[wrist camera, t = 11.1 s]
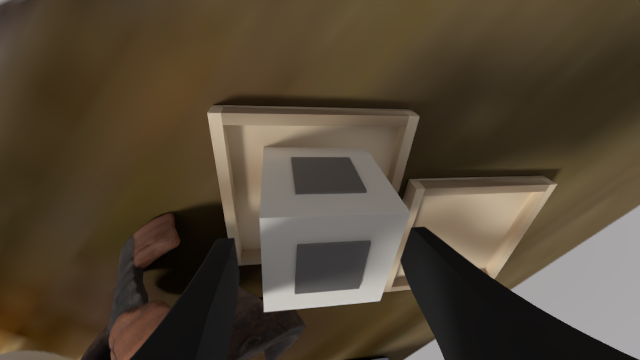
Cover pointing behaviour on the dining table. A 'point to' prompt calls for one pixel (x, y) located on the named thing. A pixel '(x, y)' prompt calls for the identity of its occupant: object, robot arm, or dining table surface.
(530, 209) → the tray far
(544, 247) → the dining table surface
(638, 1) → the dining table surface
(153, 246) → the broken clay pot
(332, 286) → the white marked cube
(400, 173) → the tray near
